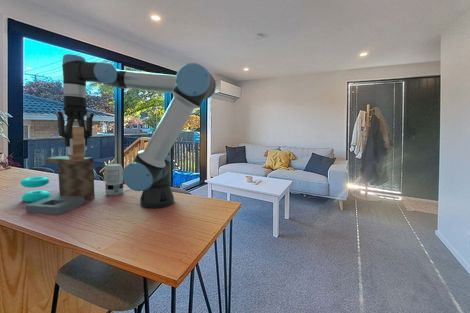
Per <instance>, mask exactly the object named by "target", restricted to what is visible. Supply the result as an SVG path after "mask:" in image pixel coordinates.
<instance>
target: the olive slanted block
mask: <svg viewBox="0 0 470 313" xmlns="http://www.w3.org/2000/svg"><path fill="white" fill-rule="evenodd" d="M84 160H85V161H75V162H74V161H70V160H69V155H57V156H52V157H50V156H49V157H45V163H46V164H57V173H58V189H59V195H61V196H77V197H84V201H85V200H88V201H93V200H94V199H95V197H96V196H95V175H94V174H95V172H94V157H91V156H87V157H86V156H84Z"/></svg>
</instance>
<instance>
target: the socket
mask: <svg viewBox="0 0 470 313" xmlns="http://www.w3.org/2000/svg"><path fill="white" fill-rule="evenodd" d="M84 204H85V200H84V197H77V196H61V195H60V194H54V195H50V197H48V198H45V199H42V200H39V201H36V202H30V203H28V204H25V213H27V214H28V213H29V214H39V215H40V214H43V215H52V216H53V215H56V216H60V215H62V214H64V213H67V212H69V211H70V210H74V209H75V208H77V207H80V206H82V205H84Z"/></svg>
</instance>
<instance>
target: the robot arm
mask: <svg viewBox="0 0 470 313" xmlns="http://www.w3.org/2000/svg"><path fill="white" fill-rule="evenodd" d="M61 67H62V77H63V81H62V83H63V84H62V85H63V95H64V96H63V109H61V110H56V111H55V115H56V117H57V128H58V136H59V137H60V138H63V139H64V146H65V147H67V156H69V155H73V139H70V137H71V132H72V127H73V126H74V123H75V121H77V123H78V126H80V127H84V155H86V147H87V146H88V139H89V138H91V137H93V119H94V116H95V113H91V112H88V109H87V98H86V96H87V83H89V82H90V83H99V84H103V85H107V86H111V87H115V88H117V89H122V90H124V89H132V90H138V91H139V90H141V91H149V92H150V91H151V92H159V93H160V92H161V93H167V94H168V93H169V94H172V95H173V98H172V100H171V101H170V103H169V105H168V107H167V108H166V110H165V112H164V114H163V116H162V118H160V121H159V123H158V124H157V126H156V128H155V129H154V132H153V133H152V135H151V137H150V139H149V140H148V143H147V144H146V145H145V148H144V149H143V150H139V151H138V152H137V154H136V155H135V157H134V159H133V160H132V162H129V163H128V164H127V165H126V166H125V167H124V168H123V183H124V184H125V185H126V187H127V188H129V189H130V190H132V191H134V192H142V193H141V195H140V200H139V204H140V206H141V207H144V208H147V209H148V208H149V209H160V208H166V207H169V206H172V205H173V204H174V203H175V197H174V193H173V190H172V187H171V164H172V163H171V162H172V161H171V156H170V155H169V153H170V150H171V149H172V147H173V146H174V144H175V142H176V140H177V139H178V137H179V136H180V133H181V132H182V130H183V129H184V126H185V125H186V123H187V121H188V120H189V118H190V117H191V115H192V113H193V111H194V110H195V109H199V108H200V107H201V106H202V104H203V102H204V100H207V99H209V98H211V97H212V96H213V95H214V93H215V91H216V88H217V85H216V81H215V78H214V76H213V75H212V74H211V73H210V72H209V70H208V69H207V68H206V67H205V66H202V65H201V64H199V63H196V62H188V63H185V64H184V65H182V66H181V67H180V68H179V69H178V70H177V72H176V74H175V75H174V74H166V73H165V74H164V73H155V72H147V71H145V72H144V71H133V70H126V69H125V70H123V69H118V68H116V67H115V66H114V64H112V63H111V62H105V61H87V60H86V57H84V56H82V55H79V54H78V55H77V54H71V53H65V54H64V55H63V56H62V64H61ZM66 116H67V117H66ZM65 117H66V125H65ZM85 117H86V119H85ZM85 122H86V124H85Z"/></svg>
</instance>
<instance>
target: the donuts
mask: <svg viewBox="0 0 470 313" xmlns="http://www.w3.org/2000/svg"><path fill="white" fill-rule="evenodd" d="M49 183H50V178H48V177H47V176H32V177H31V176H29V177H26V178H24V179H22V180H21V181H20V185H21V186H22V187H24V188H29V189H30V188H41V187H44V186H46V185H47V184H49ZM48 197H51V193H50V192H49V191H48V190H41V189H40V190H31V191H28V192H26V193H24V194H23V195H22V197H21V200H22V201H23V202H25V203H34V202H36V201H39V200H42V199H45V198H48Z"/></svg>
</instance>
